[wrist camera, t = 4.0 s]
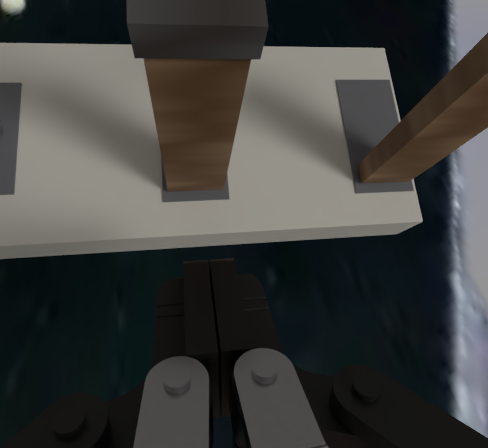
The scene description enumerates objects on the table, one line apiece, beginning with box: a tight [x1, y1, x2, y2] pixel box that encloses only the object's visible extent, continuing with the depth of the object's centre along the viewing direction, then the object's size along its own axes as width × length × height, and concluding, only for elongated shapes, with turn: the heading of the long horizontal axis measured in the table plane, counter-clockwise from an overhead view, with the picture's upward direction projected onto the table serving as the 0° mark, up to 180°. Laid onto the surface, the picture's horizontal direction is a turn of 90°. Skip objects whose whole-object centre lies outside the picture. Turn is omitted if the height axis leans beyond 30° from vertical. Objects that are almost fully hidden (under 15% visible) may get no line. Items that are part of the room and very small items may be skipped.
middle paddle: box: [127, 0, 268, 192], centre depth 15 cm, size 3×2×12 cm, turn 96°
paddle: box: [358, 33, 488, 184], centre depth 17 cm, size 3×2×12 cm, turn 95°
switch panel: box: [0, 43, 423, 259], centre depth 23 cm, size 27×12×3 cm, turn 95°
